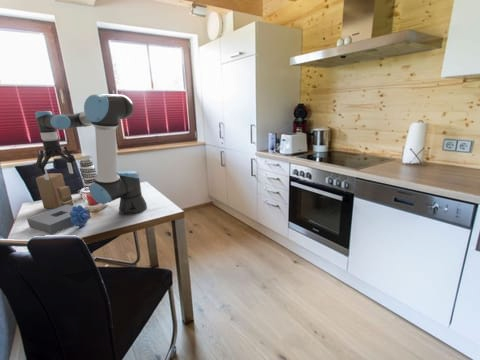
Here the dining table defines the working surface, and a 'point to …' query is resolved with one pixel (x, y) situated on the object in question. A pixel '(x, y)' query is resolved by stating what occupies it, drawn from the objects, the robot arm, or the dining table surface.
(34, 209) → the dining table surface
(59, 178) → the wooden block
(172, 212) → the dining table surface
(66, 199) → the walnut peg
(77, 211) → the grapes
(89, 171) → the decorative candle
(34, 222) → the seat block
